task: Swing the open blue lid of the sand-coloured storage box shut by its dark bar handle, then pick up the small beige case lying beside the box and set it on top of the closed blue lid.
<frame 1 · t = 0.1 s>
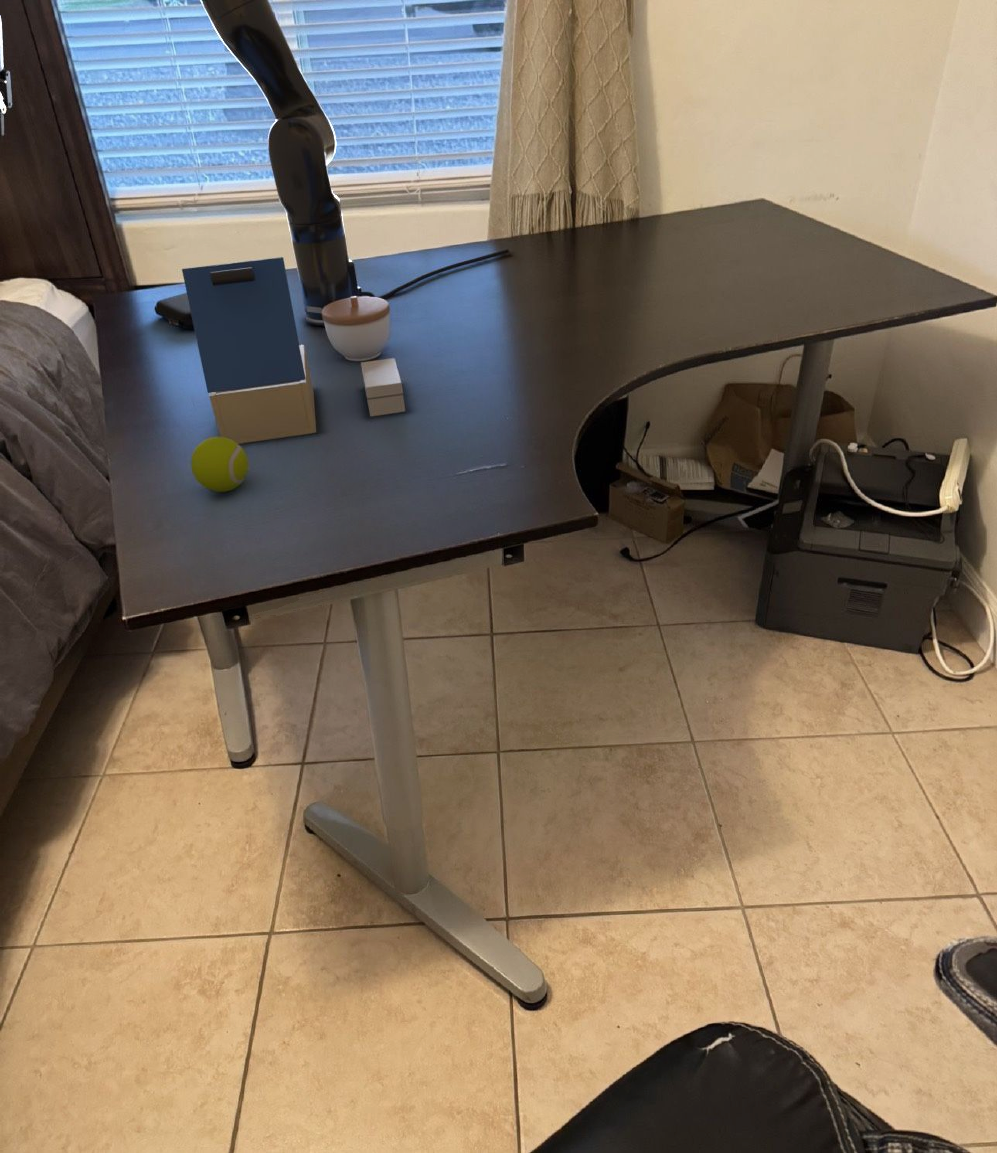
carrying case: (191, 319, 162), on the table
blue lid: (243, 324, 110), point 16 cm above the table, hinge at 68.0°
trinket box: (362, 355, 142), on the table
tennis ball: (227, 489, 108), on the table
storage box: (270, 417, 124), on the table
beige case: (384, 400, 126), on the table
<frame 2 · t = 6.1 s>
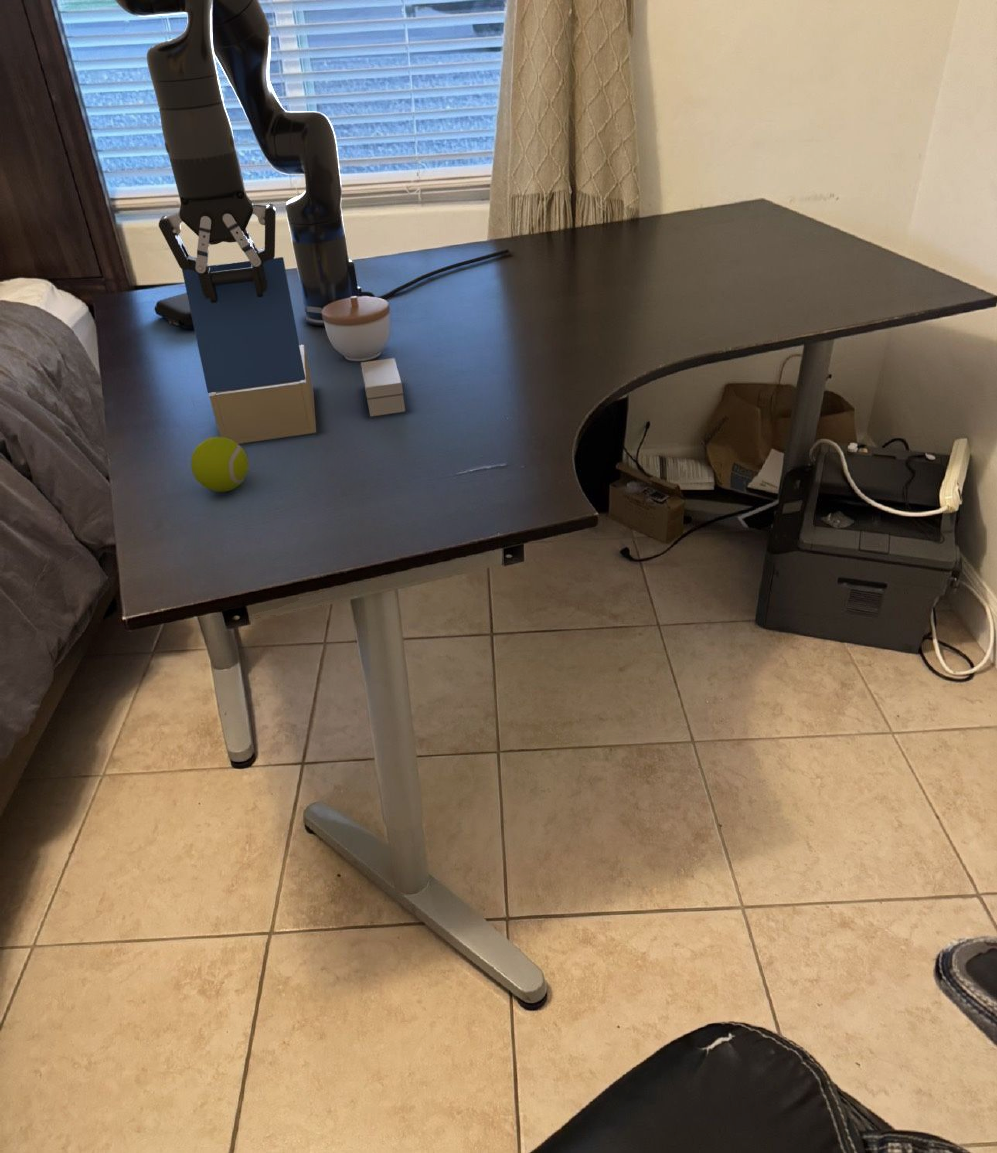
hand: (237, 297, 108), 19 cm above the table, tool pointing down, fingers closed on blue lid, 5 cm apart
blue lid: (243, 324, 110), point 16 cm above the table, hinge at 68.0°, touching gripper
everything else where it was.
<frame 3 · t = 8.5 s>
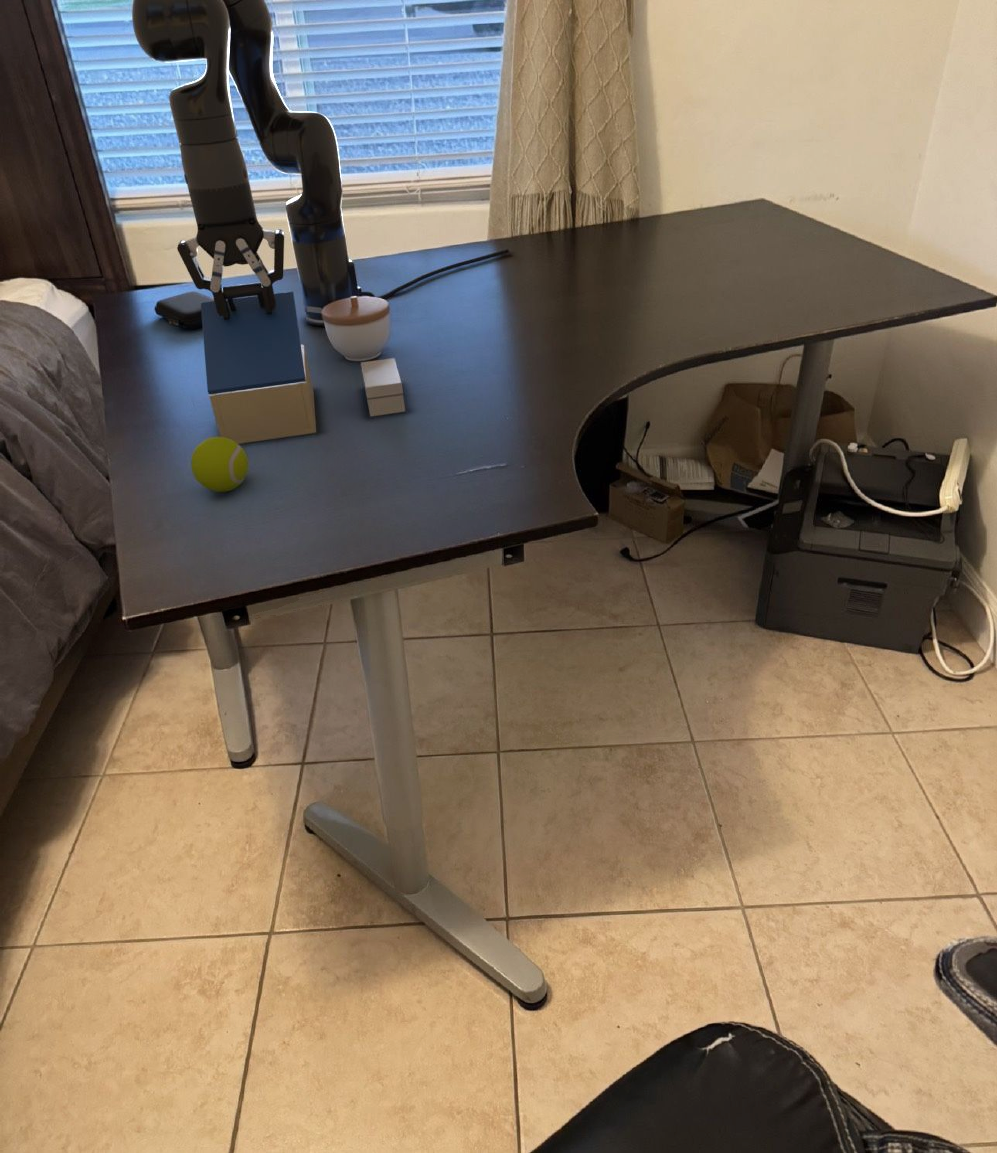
hand: (248, 314, 118), 14 cm above the table, tool pointing down, fingers closed on blue lid, 5 cm apart
blue lid: (249, 331, 115), point 13 cm above the table, hinge at 28.5°, touching gripper
everything else where it was.
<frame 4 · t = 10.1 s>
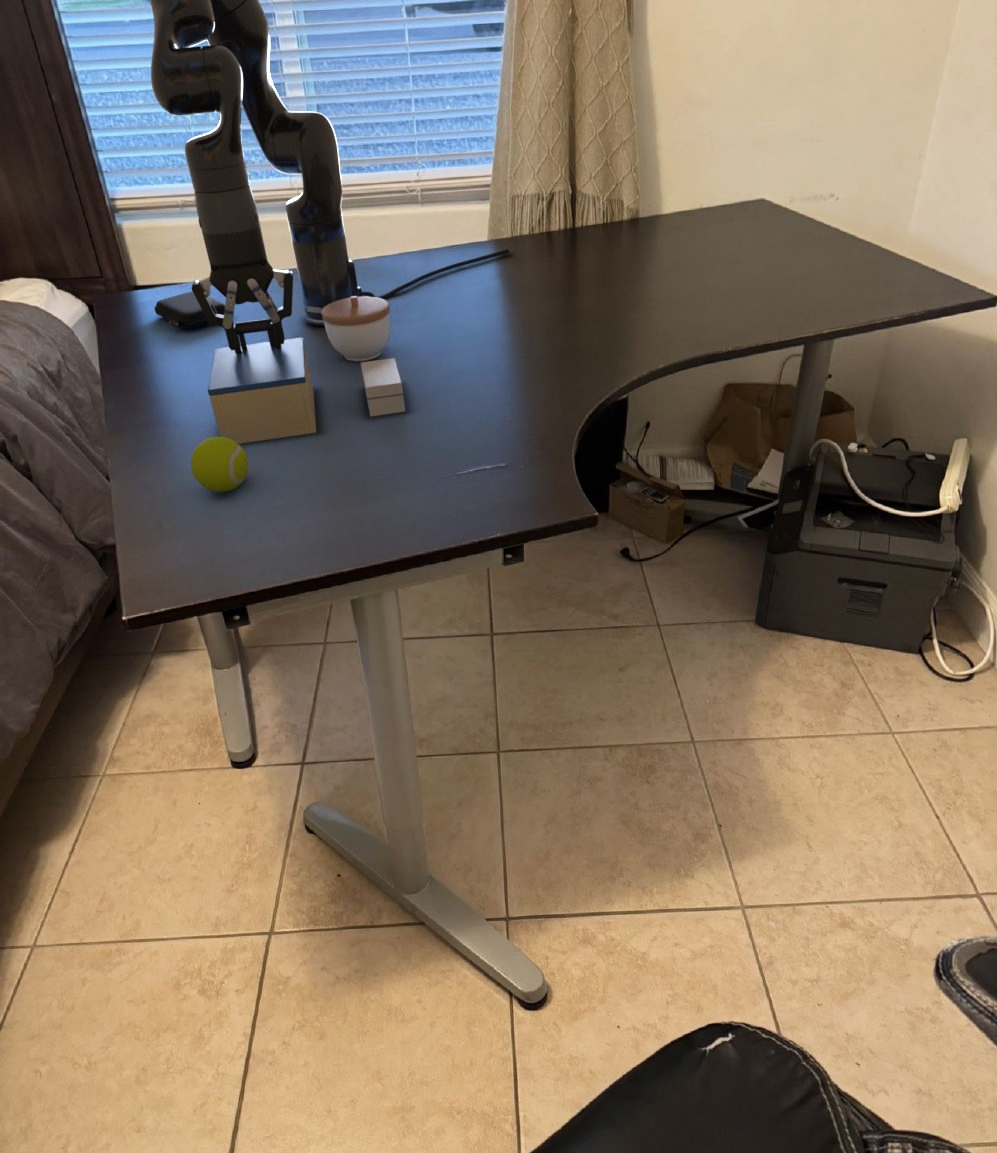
hand: (258, 349, 123), 8 cm above the table, tool pointing down, fingers closed on blue lid, 5 cm apart
blue lid: (255, 351, 119), point 10 cm above the table, hinge at -0.2°, touching gripper, storage box
everything else where it was.
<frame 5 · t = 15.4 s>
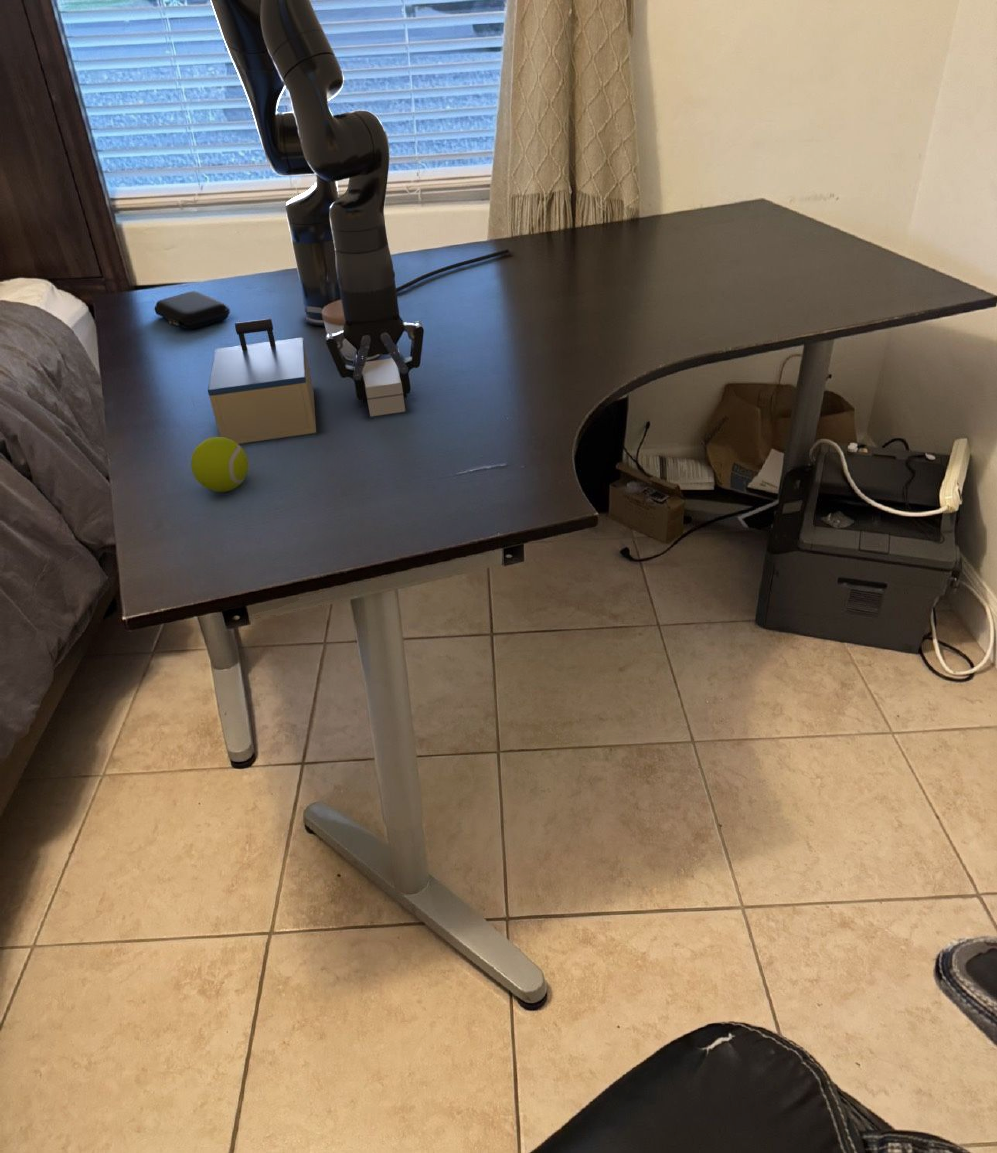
hand: (384, 398, 126), 0 cm above the table, tool pointing down, fingers closed on beige case, 5 cm apart
blue lid: (255, 351, 119), point 10 cm above the table, hinge at -0.2°, touching storage box
beige case: (384, 400, 126), on the table, touching gripper
everything else where it was.
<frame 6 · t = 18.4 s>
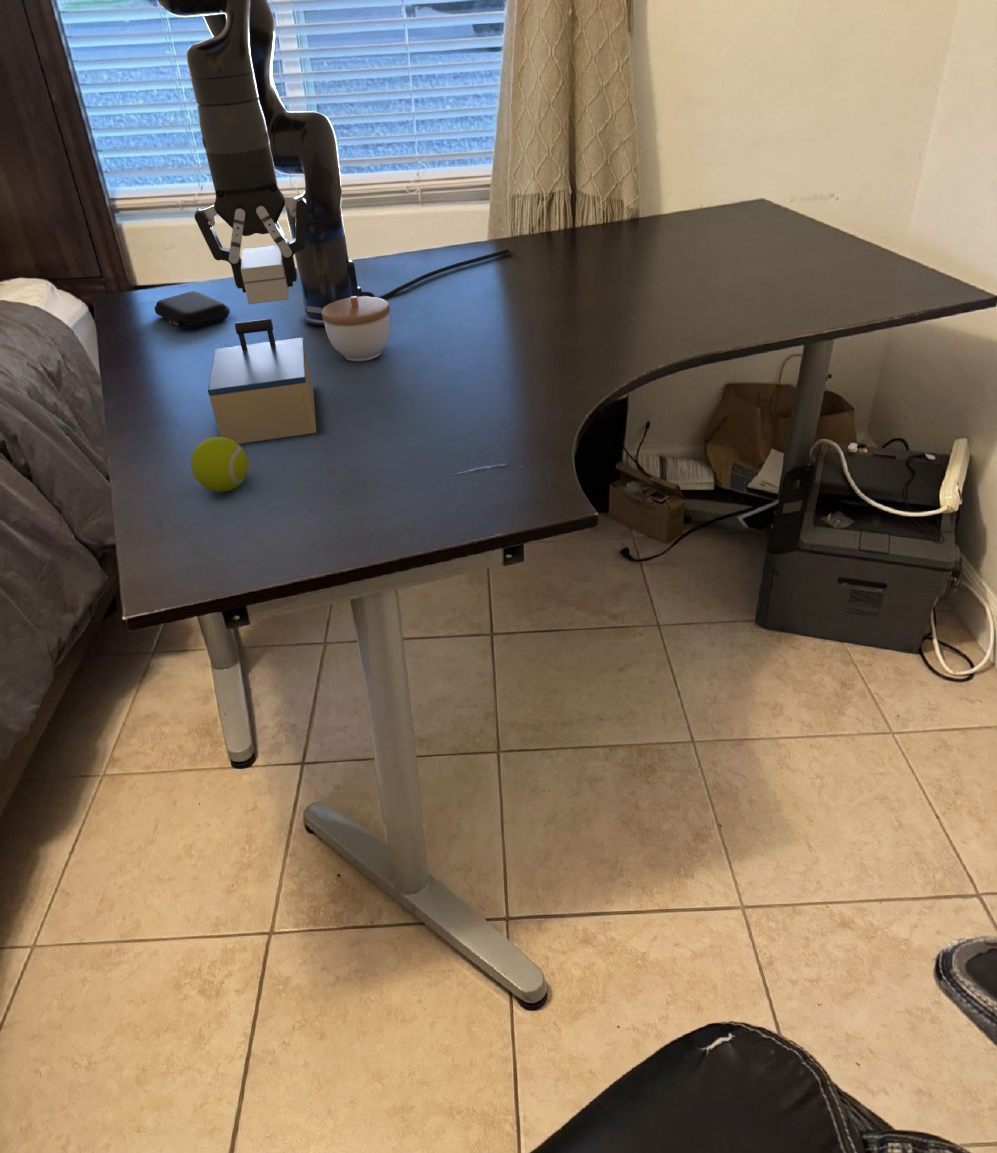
hand: (267, 287, 113), 18 cm above the table, tool pointing down, fingers closed on beige case, 5 cm apart
beige case: (269, 290, 113), point 18 cm above the table, touching gripper
everything else where it was.
when the fingers open (9 cm above the table, at t = 21.4 s): beige case stays where it is, resting on blue lid.
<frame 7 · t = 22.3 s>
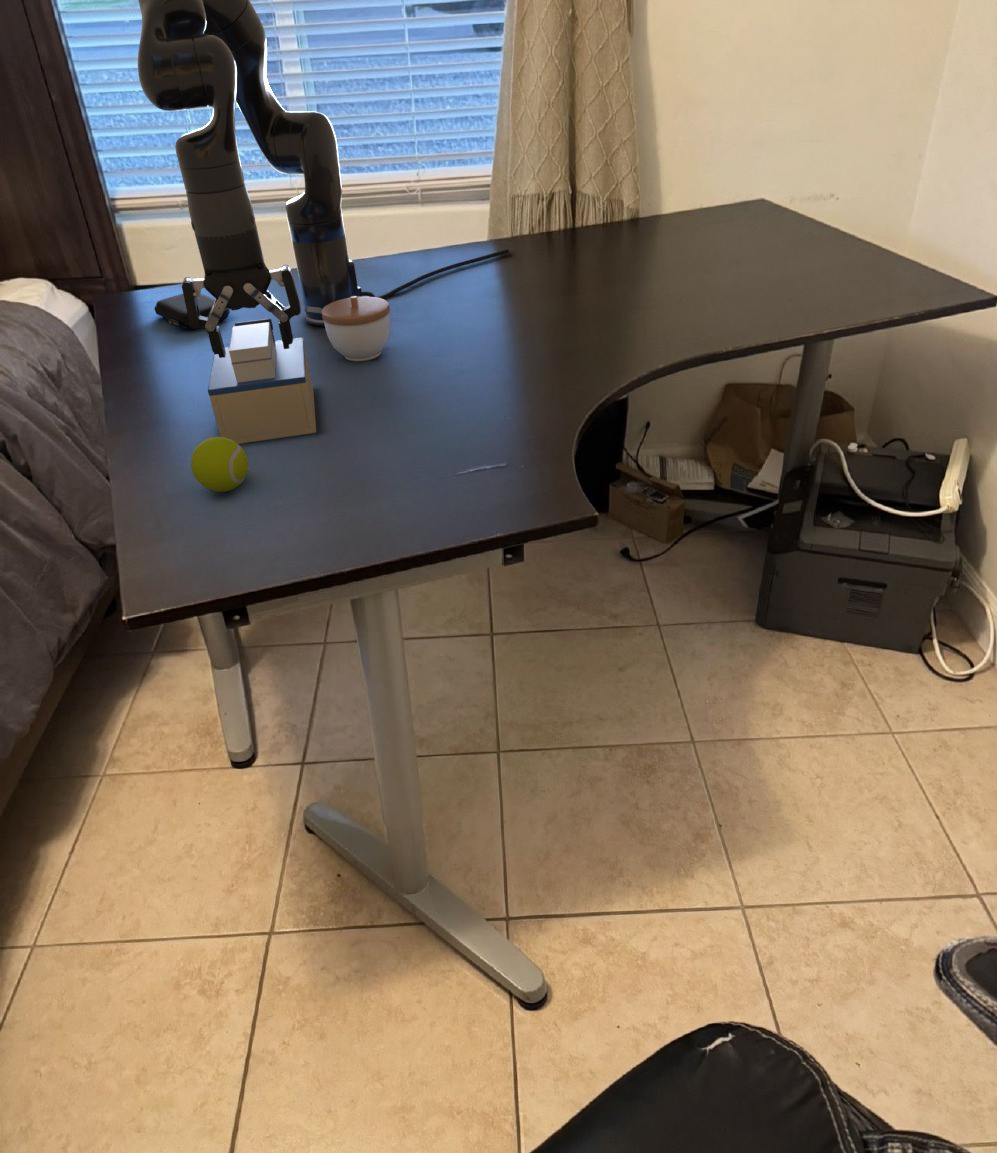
hand: (254, 351, 117), 10 cm above the table, tool pointing down, fingers open, 8 cm apart
blue lid: (255, 351, 119), point 10 cm above the table, hinge at -0.2°, touching beige case
beige case: (257, 367, 118), point 8 cm above the table, touching blue lid
everything else where it was.
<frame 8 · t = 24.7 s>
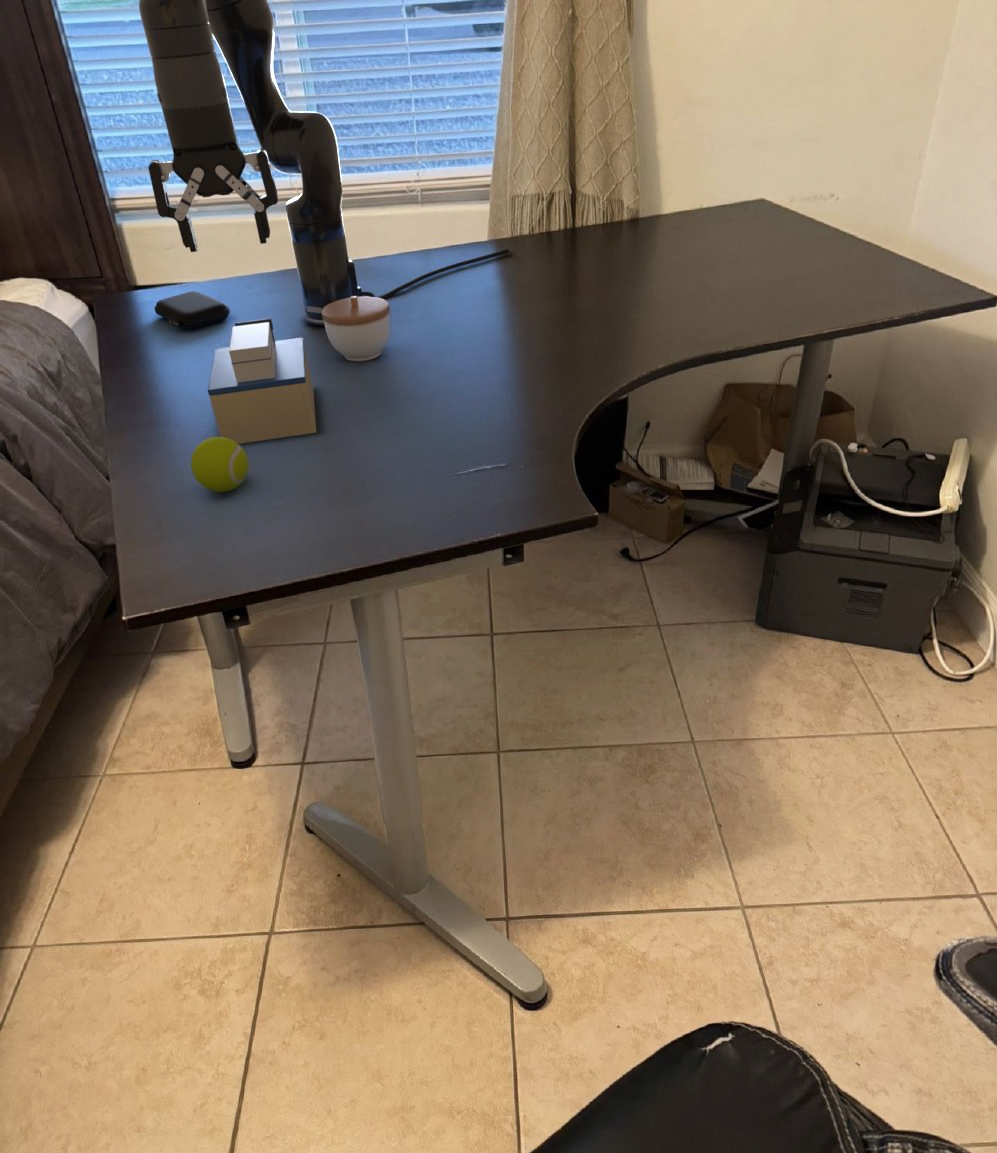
hand: (229, 246, 109), 24 cm above the table, tool pointing down, fingers open, 8 cm apart
nothing on the table moved.
at the end: blue lid at +0° (first picture: +68°); beige case inside the target area on the storage box (0.1 cm from its centre), point 8.1 cm above the storage box's base; beige case tilted 0° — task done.
